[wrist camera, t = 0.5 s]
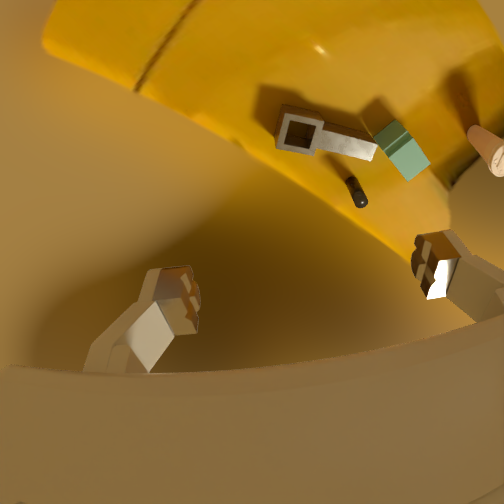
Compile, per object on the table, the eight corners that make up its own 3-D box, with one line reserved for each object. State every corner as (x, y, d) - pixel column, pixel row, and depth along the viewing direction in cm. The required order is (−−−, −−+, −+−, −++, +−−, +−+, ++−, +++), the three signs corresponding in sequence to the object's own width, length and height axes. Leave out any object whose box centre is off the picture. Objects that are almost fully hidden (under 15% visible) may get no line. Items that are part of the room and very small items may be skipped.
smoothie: (491, 134, 41) (535, 175, 31) (470, 154, 45) (512, 199, 35) (477, 111, 38) (526, 150, 29) (455, 133, 42) (501, 176, 32)
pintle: (348, 175, 50) (358, 195, 45) (359, 178, 50) (370, 198, 46) (344, 185, 51) (352, 206, 47) (355, 188, 51) (364, 209, 47)
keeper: (395, 164, 48) (407, 181, 44) (373, 137, 44) (384, 153, 41) (416, 148, 45) (430, 163, 41) (395, 119, 42) (409, 132, 38)
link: (273, 137, 45) (276, 148, 42) (282, 104, 41) (284, 112, 38) (360, 156, 47) (367, 168, 44) (371, 126, 43) (380, 137, 40)
